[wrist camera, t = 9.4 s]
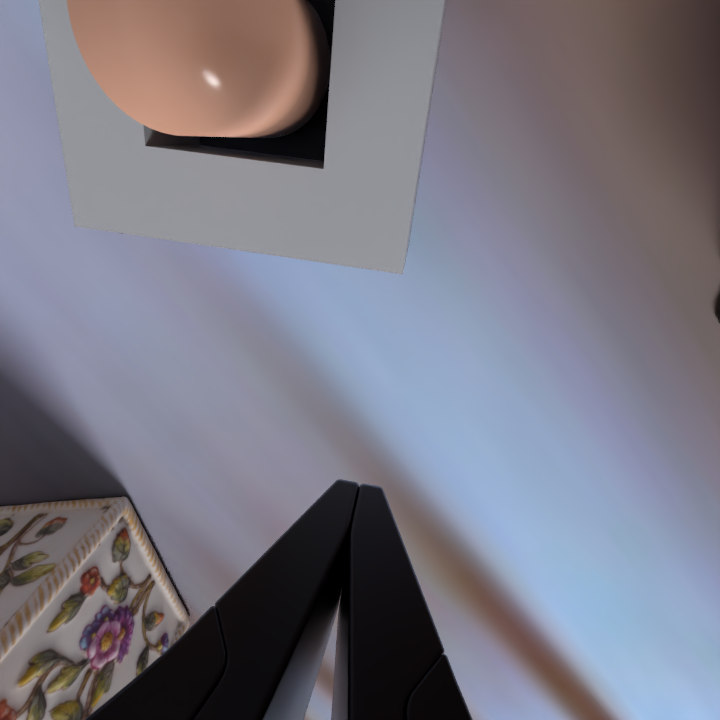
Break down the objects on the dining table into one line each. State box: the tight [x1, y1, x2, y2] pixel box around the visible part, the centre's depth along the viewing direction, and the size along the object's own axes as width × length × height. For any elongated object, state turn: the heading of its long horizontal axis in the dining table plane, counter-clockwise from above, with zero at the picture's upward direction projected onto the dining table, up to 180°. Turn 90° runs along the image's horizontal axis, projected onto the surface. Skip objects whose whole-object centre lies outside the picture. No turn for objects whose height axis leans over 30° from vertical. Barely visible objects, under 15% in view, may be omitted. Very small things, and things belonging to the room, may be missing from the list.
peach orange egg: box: [67, 0, 330, 138], centre depth 13 cm, size 5×5×6 cm
